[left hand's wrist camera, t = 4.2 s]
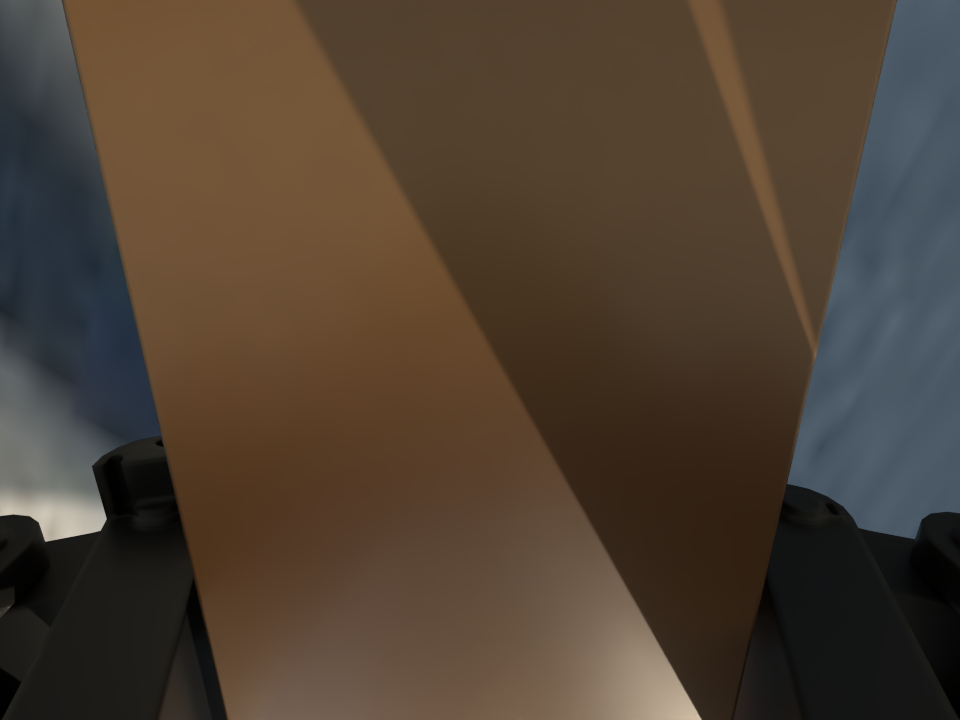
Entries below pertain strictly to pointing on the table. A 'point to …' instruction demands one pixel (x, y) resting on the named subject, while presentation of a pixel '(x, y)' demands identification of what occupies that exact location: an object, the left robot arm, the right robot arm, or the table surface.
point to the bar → (479, 330)
